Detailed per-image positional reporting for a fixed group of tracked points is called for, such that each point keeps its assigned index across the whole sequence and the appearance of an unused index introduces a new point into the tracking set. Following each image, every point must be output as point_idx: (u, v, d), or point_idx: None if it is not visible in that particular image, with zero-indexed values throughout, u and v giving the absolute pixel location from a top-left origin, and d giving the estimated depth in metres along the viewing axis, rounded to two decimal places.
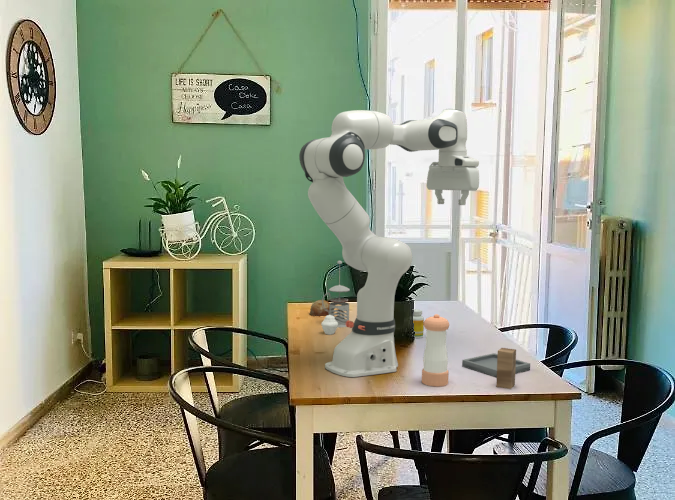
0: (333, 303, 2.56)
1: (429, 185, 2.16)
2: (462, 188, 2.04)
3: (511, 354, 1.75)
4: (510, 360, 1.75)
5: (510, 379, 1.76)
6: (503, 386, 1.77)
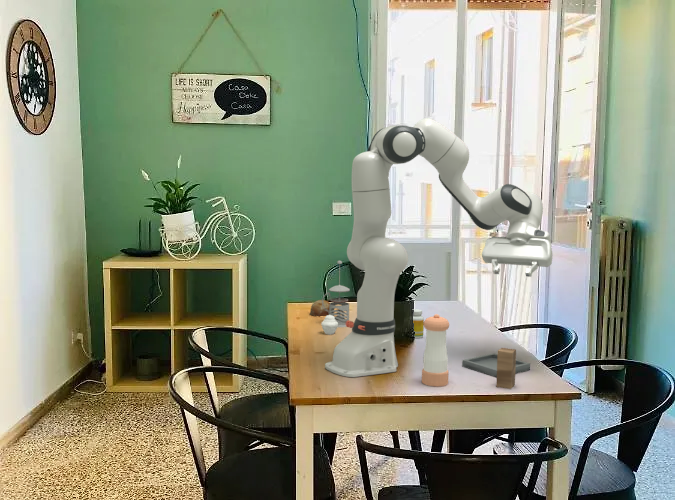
0: (333, 303, 2.56)
1: (487, 252, 1.97)
2: (536, 257, 1.89)
3: (511, 354, 1.75)
4: (510, 360, 1.75)
5: (510, 379, 1.76)
6: (503, 386, 1.77)
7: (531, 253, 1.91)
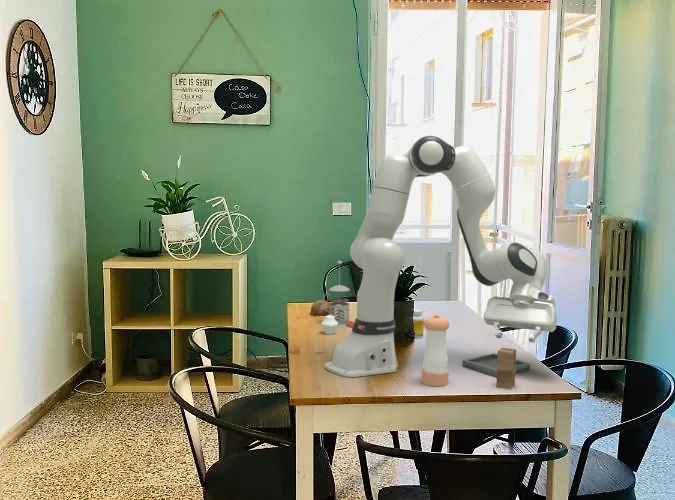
0: (333, 303, 2.56)
1: (489, 314, 1.91)
2: (540, 322, 1.83)
3: (511, 354, 1.75)
4: (510, 360, 1.75)
5: (510, 379, 1.76)
6: (503, 386, 1.77)
7: (535, 317, 1.85)
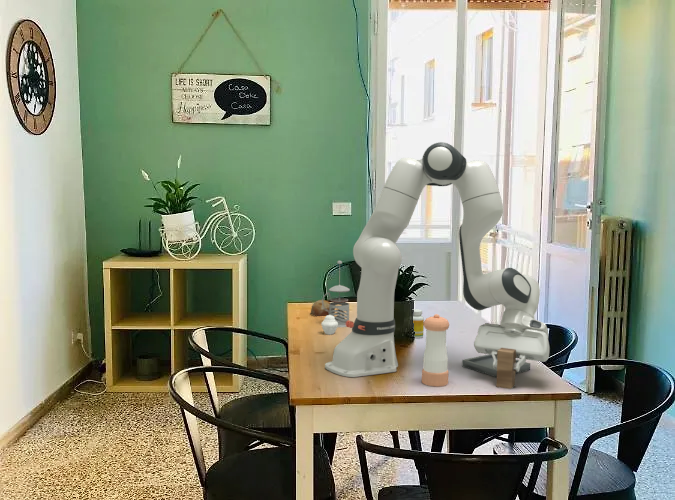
0: (333, 303, 2.56)
1: (479, 342, 1.84)
2: (532, 352, 1.76)
3: (511, 354, 1.75)
4: (510, 360, 1.75)
5: (510, 379, 1.76)
6: (503, 386, 1.77)
7: (526, 346, 1.78)
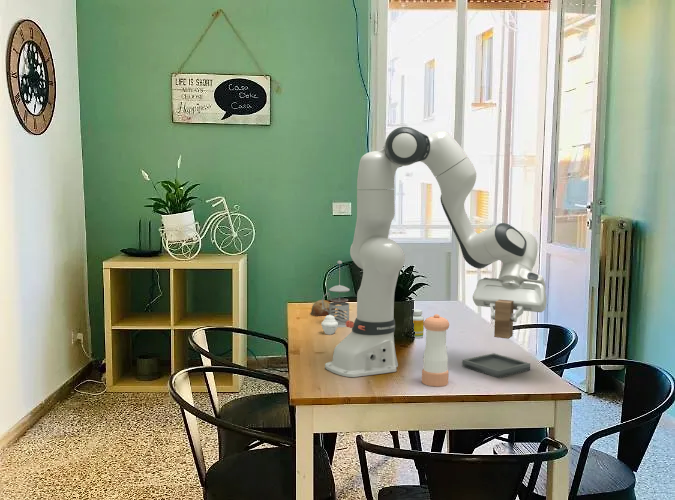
0: (333, 303, 2.56)
1: (478, 295, 1.88)
2: (529, 302, 1.80)
3: (508, 304, 1.79)
4: (507, 310, 1.80)
5: (508, 329, 1.80)
6: (501, 336, 1.81)
7: (524, 298, 1.82)
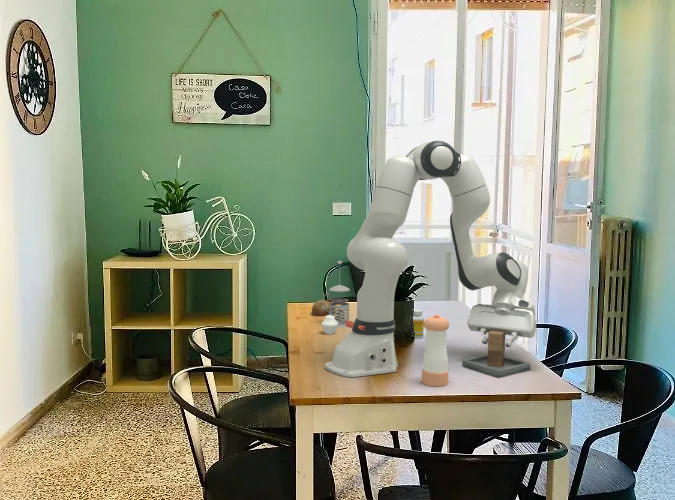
0: (333, 303, 2.56)
1: (472, 321, 2.00)
2: (520, 329, 1.93)
3: (500, 335, 1.92)
4: (500, 341, 1.92)
5: (500, 358, 1.93)
6: (493, 365, 1.94)
7: (515, 324, 1.94)
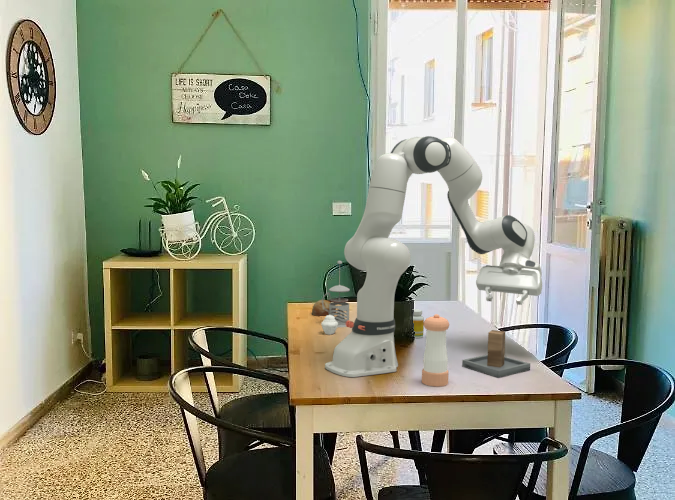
0: (333, 303, 2.56)
1: (481, 280, 2.09)
2: (527, 286, 2.01)
3: (500, 335, 1.92)
4: (500, 341, 1.92)
5: (500, 358, 1.93)
6: (493, 365, 1.94)
7: (522, 282, 2.03)
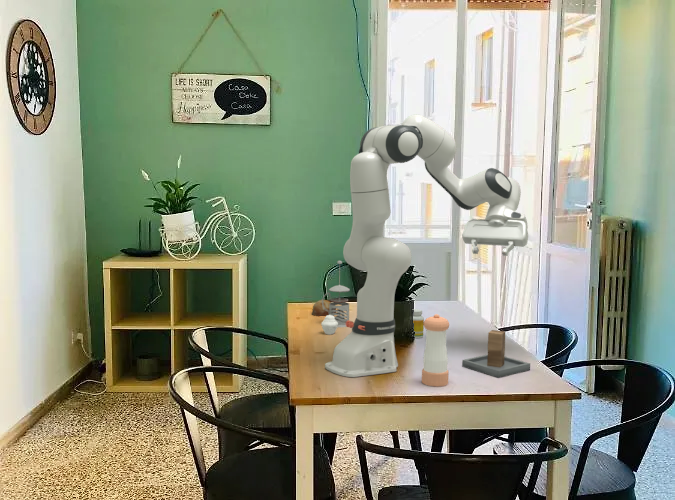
0: (333, 303, 2.56)
1: (467, 233, 2.08)
2: (513, 237, 2.01)
3: (500, 335, 1.92)
4: (500, 341, 1.92)
5: (500, 358, 1.93)
6: (493, 365, 1.94)
7: (508, 234, 2.02)
